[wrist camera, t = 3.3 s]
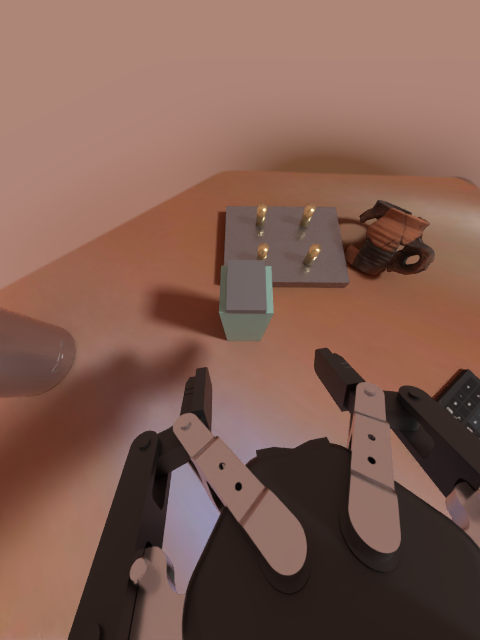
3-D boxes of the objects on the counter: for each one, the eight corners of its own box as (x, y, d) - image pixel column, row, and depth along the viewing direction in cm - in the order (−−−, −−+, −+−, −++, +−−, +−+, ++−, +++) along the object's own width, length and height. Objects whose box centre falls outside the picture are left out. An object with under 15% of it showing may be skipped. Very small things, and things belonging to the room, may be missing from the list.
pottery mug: (325, 248, 32) (361, 192, 26) (355, 249, 37) (390, 201, 31) (388, 296, 26) (453, 236, 20) (413, 289, 31) (471, 239, 25)
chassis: (224, 286, 29) (221, 269, 25) (227, 213, 33) (225, 188, 29) (344, 287, 29) (362, 270, 25) (331, 214, 33) (344, 189, 29)
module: (227, 341, 26) (217, 309, 15) (228, 309, 28) (220, 259, 17) (260, 341, 26) (275, 310, 15) (259, 309, 28) (272, 260, 17)
